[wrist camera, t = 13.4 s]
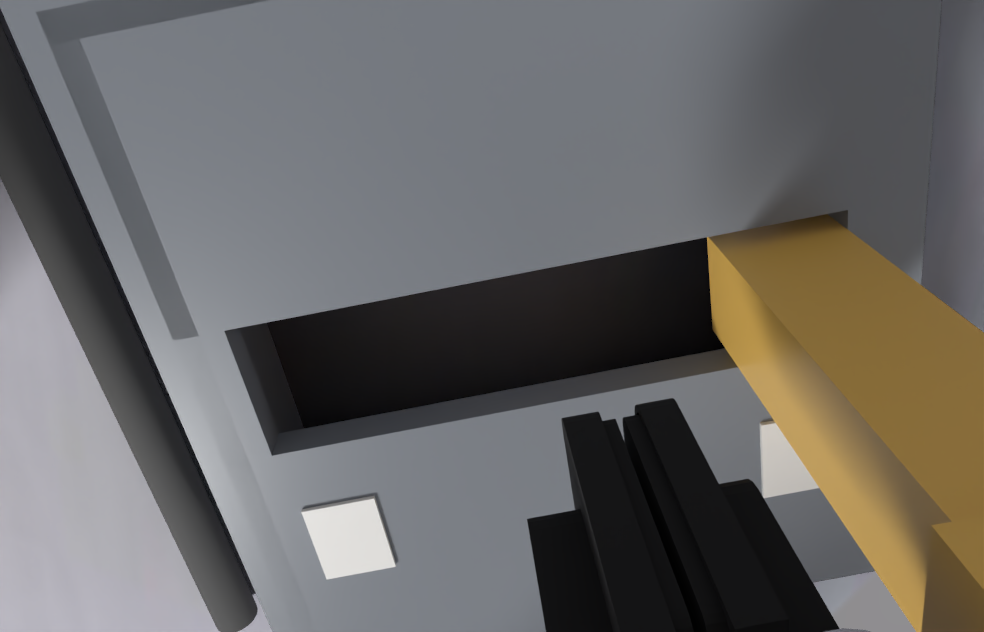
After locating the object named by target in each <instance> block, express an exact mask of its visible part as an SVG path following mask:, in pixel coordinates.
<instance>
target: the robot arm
mask: <svg viewBox="0 0 984 632" xmlns="http://www.w3.org/2000/svg"><path fill="white" fill-rule="evenodd" d="M561 421H562V429H563V436H564V442H565V449H566V455H567V462H568V468H569V475H570V481H571V488H572V494H573V501H574V507H575V510H573V511H567V512H562V513H556V514H551V515H545V516H540V517H534V518H529V519H527V522H528V528H529V534H530V540H531V546H532V552H533V558H534V564H535V570H536V576H537V581H538V587H539V593H540V599H541V605H542V611H543V617H544V623H545V629H546V632H870V631H866V630H858V629H844V628H842V629H839V627H838V626H837V624H836V622H835V620H834V619H833V617H832V615H831V613H830V612H829V610H828V608H827V606H826V605H825V603H824V601H823V600H822V598H821V596H820V594H819V593H818V591H817V589H816V587H815V586H814V584H813V582H812V581H811V579H810V577H809V575H808V574H807V572H806V570H805V569H804V567H803V565H802V563H801V562H800V560H799V558H798V556H797V555H796V553H795V551H794V550H793V548H792V546H791V544H790V543H789V541H788V539H787V537H786V536H785V534H784V532H783V531H782V529H781V527H780V525H779V524H778V522H777V520H776V519H775V517H774V515H773V513H772V512H771V510H770V508H769V506H768V505H767V503H766V501H765V500H764V498H763V496H762V494H761V493H760V491H759V489H758V488H757V486H756V485H755V484H754V482H753V481H751V480H750V479H743V480H738V481H733V482H727V483H722V484H719V483H718V481H717V479H716V477H715V476H714V474H713V472H712V470H711V468H710V466H709V464H708V462H707V460H706V458H705V456H704V454H703V452H702V450H701V448H700V447H699V445H698V443H697V441H696V439H695V437H694V435H693V433H692V431H691V429H690V427H689V425H688V423H687V421H686V419H685V417H684V416H683V414H682V412H681V410H680V408H679V406H678V404H677V402H676V401H675V399H673V398H670V399H664V400H659V401H653V402H648V403H642V404H637V405H635V415H633V416H628V417H623V421H622V422H623V432H624V440H623V437H622V434H621V432H620V429H619V426H618V424H617V421H616V419H610V420H605V421H602V418H601V416H600V413H599V412H592V413H587V414H581V415H576V416H570V417H565V418H562V419H561ZM624 441H625V442H624Z"/></svg>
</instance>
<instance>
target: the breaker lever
mask: <svg viewBox="0 0 984 632" xmlns="http://www.w3.org/2000/svg"><path fill="white" fill-rule="evenodd" d="M707 247H708V263H709V279H710V295H711V312H712V328H713V331H714V332H715V334H716V335H717V337H718V338H719V340H720V341H721V343H722V344H723V346H724V347H725V349H726V350H727V352H728V353H729V355H730V356H731V358H732V359H733V360H734V362H735V363H736V365H737V366H738V368H739V369H740V371H741V372H742V374H743V375H744V377H745V378H746V380H747V381H748V383H749V384H750V386H751V387H752V389H753V390H754V392H755V393H756V395H757V396H758V398H759V399H760V401H761V402H762V404H763V405H764V406H765V408H766V409H767V411H768V412H769V414H770V415H771V417H772V418H773V420H774V421H775V423H776V424H777V426H778V427H779V429H780V430H781V432H782V433H783V435H784V436H785V438H786V439H787V441H788V442H789V444H790V445H791V447H792V448H793V449H794V451H795V452H796V454H797V455H798V457H799V458H800V460H801V461H802V463H803V464H804V466H805V467H806V469H807V470H808V472H809V473H810V475H811V476H812V478H813V479H814V481H815V482H816V484H817V485H818V487H819V488H820V490H821V491H822V492H823V494H824V495H825V497H826V498H827V500H828V501H829V503H830V504H831V506H832V507H833V509H834V510H835V512H836V513H837V515H838V516H839V518H840V519H841V521H842V522H843V524H844V525H845V527H846V528H847V530H848V531H849V533H850V534H851V536H852V537H853V538H854V540H855V541H856V543H857V544H858V546H859V547H860V549H861V550H862V552H863V553H864V555H865V556H866V558H867V559H868V561H869V562H870V564H871V565H872V567H873V568H874V570H875V571H876V573H877V574H878V576H879V577H880V579H881V580H882V581H883V583H884V584H885V586H886V587H887V589H888V590H889V592H890V593H891V595H892V596H893V598H894V599H895V601H896V602H897V604H898V605H899V607H900V608H901V609H902V611H903V613H904V614H905V615H906V617H907V618H908V620H909V622H910V623H911V625H912V626H913V627H914V629H915V630H916V632H984V332H982V331H981V330H980V329H978V328H977V327H976V326H974V325H973V324H972V323H970V322H969V321H968V320H966V319H965V318H964V317H962V316H961V315H960V314H959V313H957V312H956V311H955V310H953V309H952V308H951V307H949V306H948V305H947V304H945V303H944V302H943V301H941V300H940V299H939V298H937V297H936V296H935V295H933V294H932V293H931V292H930V291H928V290H927V289H926V288H924V287H923V286H922V285H920V284H919V283H918V282H916V281H915V280H914V279H912V278H911V277H910V276H908V275H907V274H906V273H904V272H903V271H902V270H901V269H899V268H898V267H897V266H895V265H894V264H893V263H891V262H890V261H889V260H887V259H886V258H885V257H883V256H882V255H881V254H879V253H878V252H877V251H876V250H874V249H873V248H872V247H870V246H869V245H868V244H866V243H865V242H864V241H862V240H861V239H860V238H858V237H857V236H856V235H854V234H853V233H852V232H850V231H849V230H848V229H846V228H845V227H844V226H842V225H841V224H840V223H838V222H837V221H836V220H834V219H833V218H832V217H830V216H829V215H828V214H824V215H819V216H814V217H809V218H804V219H799V220H794V221H788V222H783V223H778V224H773V225H768V226H763V227H757V228H752V229H747V230H742V231H737V232H732V233H726V234H721V235H716V236H711V237H707Z"/></svg>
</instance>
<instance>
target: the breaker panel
mask: <svg viewBox="0 0 984 632" xmlns="http://www.w3.org/2000/svg"><path fill="white" fill-rule="evenodd" d="M941 6H942V0H0V9H1V11H2V13H3V15H4V18H5V20H6V22H7V25H8V27H9V29H10V31H11V34H12V36H13V38H14V41H15V43H16V45H17V47H18V50H19V52H20V54H21V57H22V59H23V61H24V63H25V66H26V68H27V70H28V73H29V75H30V77H31V80H32V82H33V84H34V86H35V89H36V91H37V93H38V96H39V98H40V100H41V102H42V105H43V107H44V109H45V112H46V114H47V116H48V118H49V121H50V123H51V125H52V128H53V130H54V132H55V134H56V137H57V139H58V141H59V144H60V146H61V148H62V151H63V153H64V155H65V157H66V160H67V162H68V164H69V167H70V169H71V171H72V173H73V176H74V178H75V180H76V183H77V185H78V187H79V189H80V192H81V194H82V196H83V199H84V201H85V203H86V205H87V208H88V210H89V212H90V215H91V217H92V219H93V222H94V224H95V226H96V228H97V231H98V233H99V235H100V238H101V240H102V242H103V244H104V247H105V249H106V251H107V254H108V256H109V258H110V260H111V263H112V265H113V267H114V270H115V272H116V274H117V276H118V279H119V281H120V283H121V286H122V288H123V290H124V293H125V295H126V297H127V299H128V302H129V304H130V306H131V309H132V311H133V313H134V315H135V318H136V320H137V322H138V325H139V327H140V329H141V331H142V334H143V336H144V338H145V341H146V343H147V345H148V348H149V350H150V352H151V354H152V357H153V359H154V361H155V364H156V366H157V368H158V370H159V373H160V375H161V377H162V380H163V382H164V384H165V386H166V389H167V391H168V393H169V396H170V398H171V400H172V402H173V405H174V407H175V409H176V412H177V414H178V416H179V419H180V421H181V423H182V425H183V428H184V430H185V432H186V435H187V437H188V439H189V441H190V444H191V446H192V448H193V451H194V453H195V455H196V457H197V460H198V462H199V464H200V467H201V469H202V471H203V473H204V476H205V478H206V480H207V483H208V485H209V487H210V490H211V492H212V494H213V496H214V499H215V501H216V503H217V506H218V508H219V510H220V512H221V515H222V517H223V519H224V522H225V524H226V526H227V528H228V531H229V533H230V535H231V538H232V540H233V542H234V544H235V547H236V549H237V551H238V554H239V556H240V558H241V561H242V563H243V565H244V567H245V570H246V572H247V574H248V577H249V579H250V581H251V583H252V586H253V588H254V590H255V593H256V595H257V597H258V599H259V602H260V604H261V606H262V609H263V611H264V613H265V615H266V618H267V620H268V622H269V625H270V627H271V629H272V632H545V631H546V629H545V623H544V617H543V611H542V605H541V599H540V593H539V587H538V581H537V576H536V570H535V564H534V558H533V552H532V546H531V540H530V534H529V528H528V522H527V519H529V518H534V517H540V516H545V515H551V514H556V513H562V512H567V511H573V510H575V507H574V501H573V494H572V488H571V481H570V475H569V468H568V462H567V455H566V449H565V442H564V436H563V429H562V421H561V419H562V418H565V417H570V416H576V415H581V414H587V413H592V412H599V413H600V416H601V418H602V421H605V420H610V419H616V421H617V424H618V426H619V429H620V432H621V434H622V437H623V440H624V432H623V422H622V421H623V417H628V416H633V415H635V405H637V404H642V403H648V402H653V401H659V400H664V399H670V398H673V399H675V401H676V402H677V404H678V406H679V408H680V410H681V412H682V414H683V416H684V417H685V419H686V421H687V423H688V425H689V427H690V429H691V431H692V433H693V435H694V437H695V439H696V441H697V443H698V445H699V447H700V448H701V450H702V452H703V454H704V456H705V458H706V460H707V462H708V464H709V466H710V468H711V470H712V472H713V474H714V476H715V477H716V479H717V481H718V483H719V484H722V483H727V482H733V481H738V480H743V479H750V480H751V481H753V482H754V484H755V485H756V486H757V488H758V489H759V491H760V493H761V494H762V496H763V498H764V500H765V501H766V503H767V505H768V506H769V508H770V510H771V512H772V513H773V515H774V517H775V519H776V520H777V522H778V524H779V525H780V527H781V529H782V531H783V532H784V534H785V536H786V537H787V539H788V541H789V543H790V544H791V546H792V548H793V550H794V551H795V553H796V555H797V556H798V558H799V560H800V562H801V563H802V565H803V567H804V569H805V570H806V572H807V574H808V575H809V577H810V579H811V581H812V582H818V581H823V580H829V579H834V578H840V577H845V576H851V575H856V574H862V573H867V572H873V571H875V570H874V568H873V567H872V565H871V564H870V562H869V561H868V559H867V558H866V556H865V555H864V553H863V552H862V550H861V549H860V547H859V546H858V544H857V543H856V541H855V540H854V538H853V537H852V536H851V534H850V533H849V531H848V530H847V528H846V527H845V525H844V524H843V522H842V521H841V519H840V518H839V516H838V515H837V513H836V512H835V510H834V509H833V507H832V506H831V504H830V503H829V501H828V500H827V498H826V497H825V495H824V494H823V492H822V491H821V490H820V488H819V487H818V485H817V484H816V482H815V481H814V479H813V478H812V476H811V475H810V473H809V472H808V470H807V469H806V467H805V466H804V464H803V463H802V461H801V460H800V458H799V457H798V455H797V454H796V452H795V451H794V449H793V448H792V447H791V445H790V444H789V442H788V441H787V439H786V438H785V436H784V435H783V433H782V432H781V430H780V429H779V427H778V426H777V424H776V423H775V421H774V420H773V418H772V417H771V415H770V414H769V412H768V411H767V409H766V408H765V406H764V405H763V404H762V402H761V401H760V399H759V398H758V396H757V395H756V393H755V392H754V390H753V389H752V387H751V386H750V384H749V383H748V381H747V380H746V378H745V377H744V375H743V374H742V372H741V371H740V369H739V368H738V366H737V365H736V363H735V362H734V360H733V359H732V358H731V356H730V355H729V353H728V352H727V350H726V349H719V350H714V351H709V352H704V353H698V354H693V355H688V356H683V357H677V358H672V359H667V360H662V361H656V362H651V363H646V364H641V365H635V366H630V367H625V368H620V369H614V370H609V371H604V372H599V373H593V374H588V375H583V376H578V377H572V378H567V379H562V380H557V381H551V382H546V383H541V384H536V385H530V386H525V387H520V388H515V389H509V390H504V391H499V392H494V393H488V394H483V395H478V396H473V397H467V398H462V399H457V400H452V401H446V402H441V403H436V404H431V405H425V406H420V407H415V408H410V409H404V410H399V411H394V412H389V413H383V414H378V415H373V416H368V417H362V418H357V419H352V420H347V421H341V422H336V423H331V424H326V425H320V426H315V427H310V428H305V429H304V427H303V425H302V422H301V419H300V416H299V413H298V410H297V407H296V405H295V402H294V399H293V396H292V393H291V390H290V388H289V385H288V382H287V379H286V376H285V373H284V371H283V368H282V365H281V362H280V359H279V356H278V354H277V351H276V348H275V345H274V342H273V339H272V337H271V334H270V331H269V328H268V325H267V322H272V321H278V320H283V319H288V318H293V317H298V316H303V315H309V314H314V313H319V312H324V311H329V310H334V309H339V308H345V307H350V306H355V305H360V304H365V303H370V302H376V301H381V300H386V299H391V298H396V297H401V296H407V295H412V294H417V293H422V292H427V291H432V290H438V289H443V288H448V287H453V286H458V285H463V284H468V283H474V282H479V281H484V280H489V279H494V278H499V277H505V276H510V275H515V274H520V273H525V272H530V271H536V270H541V269H546V268H551V267H556V266H561V265H567V264H572V263H577V262H582V261H587V260H592V259H597V258H603V257H608V256H613V255H618V254H623V253H628V252H634V251H639V250H644V249H649V248H654V247H659V246H665V245H670V244H675V243H680V242H685V241H690V240H696V239H701V238H706V237H711V236H716V235H721V234H726V233H732V232H737V231H742V230H747V229H752V228H757V227H763V226H768V225H773V224H778V223H783V222H788V221H794V220H799V219H804V218H809V217H814V216H819V215H824V214H828V215H829V216H830V217H832V218H833V219H834V220H836V221H837V222H838V223H840V224H841V225H842V226H844V227H845V228H846V229H848V230H849V231H850V232H852V233H853V234H854V235H856V236H857V237H858V238H860V239H861V240H862V241H864V242H865V243H866V244H868V245H869V246H870V247H872V248H873V249H874V250H876V251H877V252H878V253H879V254H881V255H882V256H883V257H885V258H886V259H887V260H889V261H890V262H891V263H893V264H894V265H895V266H897V267H898V268H899V269H901V270H902V271H903V272H904V273H906V274H907V275H908V276H910V277H911V278H912V279H914V280H915V281H916V282H918V283H919V284H920V285H921V281H922V267H923V253H924V240H925V226H926V212H927V198H928V185H929V171H930V157H931V143H932V129H933V116H934V102H935V88H936V74H937V61H938V47H939V33H940V19H941ZM624 442H625V441H624Z"/></svg>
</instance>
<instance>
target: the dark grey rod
mask: <svg viewBox="0 0 984 632" xmlns="http://www.w3.org/2000/svg"><path fill="white" fill-rule="evenodd" d="M0 177H1V180H2V182H3V184H4V186H5V188H6V190H7V192H8V194H9V196H10V198H11V200H12V202H13V204H14V207H15V209H16V211H17V213H18V215H19V217H20V219H21V221H22V223H23V225H24V227H25V229H26V232H27V234H28V236H29V238H30V240H31V242H32V244H33V246H34V248H35V250H36V252H37V254H38V257H39V259H40V261H41V263H42V265H43V267H44V269H45V271H46V273H47V275H48V277H49V279H50V281H51V284H52V286H53V288H54V290H55V292H56V294H57V296H58V298H59V300H60V302H61V304H62V306H63V309H64V311H65V313H66V315H67V317H68V319H69V321H70V323H71V325H72V327H73V329H74V331H75V334H76V336H77V338H78V340H79V342H80V344H81V346H82V348H83V350H84V352H85V354H86V356H87V358H88V361H89V363H90V365H91V367H92V369H93V371H94V373H95V375H96V377H97V379H98V381H99V383H100V386H101V388H102V390H103V392H104V394H105V396H106V398H107V400H108V402H109V404H110V406H111V408H112V411H113V413H114V415H115V417H116V419H117V421H118V423H119V425H120V427H121V429H122V431H123V433H124V435H125V438H126V440H127V442H128V444H129V446H130V448H131V450H132V452H133V454H134V456H135V458H136V460H137V463H138V465H139V467H140V469H141V471H142V473H143V475H144V477H145V479H146V481H147V483H148V485H149V488H150V490H151V492H152V494H153V496H154V498H155V500H156V502H157V504H158V506H159V508H160V510H161V512H162V515H163V517H164V519H165V521H166V523H167V525H168V527H169V529H170V531H171V533H172V535H173V537H174V540H175V542H176V544H177V546H178V548H179V550H180V552H181V554H182V556H183V558H184V560H185V562H186V565H187V567H188V569H189V571H190V573H191V575H192V577H193V579H194V581H195V583H196V585H197V587H198V589H199V592H200V594H201V596H202V598H203V600H204V602H205V604H206V606H207V608H208V610H209V612H210V614H211V617H212V619H213V621H214V623H215V625H216V627H217V629H218V630H219V631H220V632H237V631H240V630H242V629H243V628H245V627H246V626H248V625H249V624H250V623H251V622H252V621H253V620H254V618H255V616H256V614H257V605H256V603H255V601H254V598H253V596H252V594H251V592H250V589H249V587H248V585H247V582H246V580H245V578H244V576H243V573H242V571H241V569H240V567H239V564H238V562H237V560H236V557H235V555H234V553H233V551H232V548H231V546H230V544H229V542H228V539H227V537H226V535H225V532H224V530H223V528H222V526H221V523H220V521H219V519H218V517H217V514H216V512H215V510H214V507H213V505H212V503H211V501H210V498H209V496H208V494H207V492H206V489H205V487H204V485H203V482H202V480H201V478H200V476H199V473H198V471H197V469H196V467H195V464H194V462H193V460H192V458H191V455H190V453H189V451H188V448H187V446H186V444H185V442H184V439H183V437H182V435H181V433H180V430H179V428H178V426H177V423H176V421H175V419H174V417H173V414H172V412H171V410H170V408H169V405H168V403H167V401H166V398H165V396H164V394H163V392H162V389H161V387H160V385H159V383H158V380H157V378H156V376H155V373H154V371H153V369H152V367H151V364H150V362H149V360H148V358H147V355H146V353H145V351H144V348H143V346H142V344H141V342H140V339H139V337H138V335H137V333H136V330H135V328H134V326H133V323H132V321H131V319H130V317H129V314H128V312H127V310H126V308H125V305H124V303H123V301H122V298H121V296H120V294H119V292H118V289H117V287H116V285H115V283H114V280H113V278H112V276H111V273H110V271H109V269H108V267H107V264H106V262H105V260H104V258H103V255H102V253H101V251H100V248H99V246H98V244H97V242H96V239H95V237H94V235H93V233H92V230H91V228H90V226H89V224H88V221H87V219H86V217H85V214H84V212H83V210H82V208H81V205H80V203H79V201H78V199H77V196H76V194H75V192H74V189H73V187H72V185H71V183H70V180H69V178H68V176H67V174H66V171H65V169H64V167H63V164H62V162H61V160H60V158H59V155H58V153H57V151H56V149H55V146H54V144H53V142H52V139H51V137H50V135H49V133H48V130H47V128H46V126H45V124H44V121H43V119H42V117H41V114H40V112H39V110H38V108H37V105H36V103H35V101H34V99H33V96H32V94H31V92H30V89H29V87H28V85H27V83H26V80H25V78H24V76H23V74H22V71H21V69H20V67H19V64H18V62H17V60H16V58H15V55H14V53H13V51H12V49H11V46H10V44H9V42H8V39H7V37H6V35H5V33H4V30H3V28H2V26H1V24H0Z"/></svg>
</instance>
